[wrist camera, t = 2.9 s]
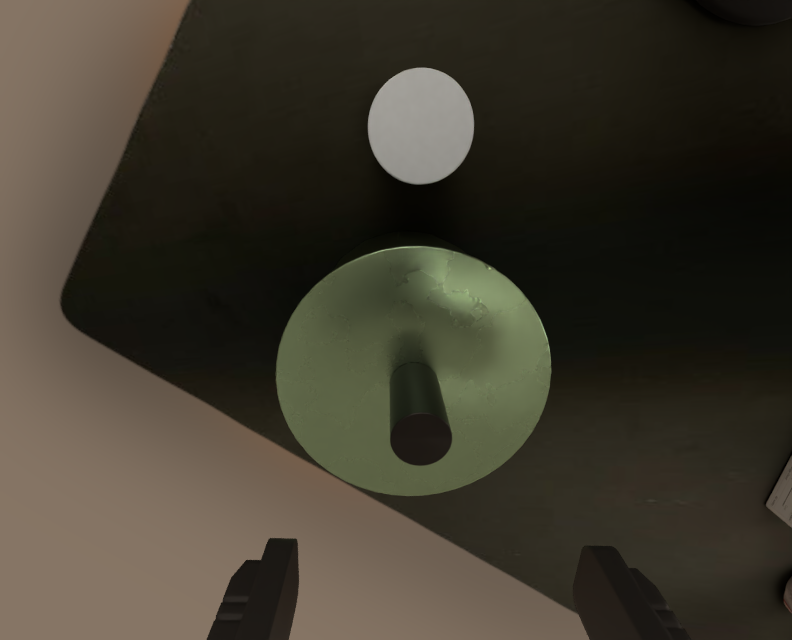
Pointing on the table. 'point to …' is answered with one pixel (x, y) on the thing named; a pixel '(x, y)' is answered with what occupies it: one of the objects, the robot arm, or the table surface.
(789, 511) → the light bulb box
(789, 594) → the soda can
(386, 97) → the tub
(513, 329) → the bin lid
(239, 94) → the table surface
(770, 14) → the desk fan
